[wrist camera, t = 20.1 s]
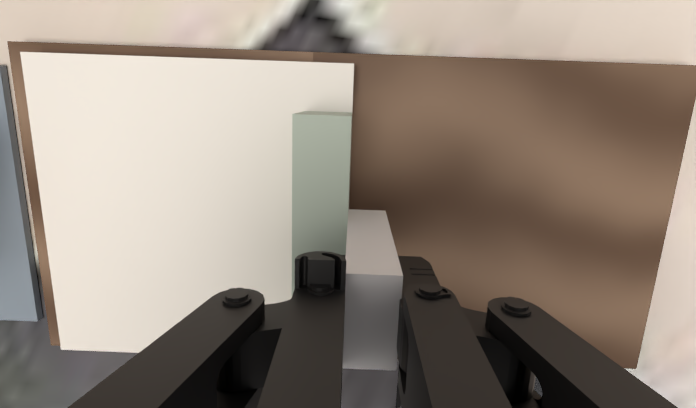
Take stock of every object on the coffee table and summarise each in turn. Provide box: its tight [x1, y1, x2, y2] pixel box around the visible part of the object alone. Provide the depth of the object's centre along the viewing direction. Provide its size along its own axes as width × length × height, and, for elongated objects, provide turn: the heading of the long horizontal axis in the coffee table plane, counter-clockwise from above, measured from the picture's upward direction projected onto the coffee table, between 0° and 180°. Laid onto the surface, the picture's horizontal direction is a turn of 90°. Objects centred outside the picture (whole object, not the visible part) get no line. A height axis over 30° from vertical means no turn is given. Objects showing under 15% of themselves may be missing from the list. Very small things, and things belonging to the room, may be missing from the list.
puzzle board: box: [7, 41, 696, 369], centre depth 21 cm, size 15×30×1 cm, turn 88°
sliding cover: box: [20, 52, 354, 370], centre depth 18 cm, size 14×14×5 cm
